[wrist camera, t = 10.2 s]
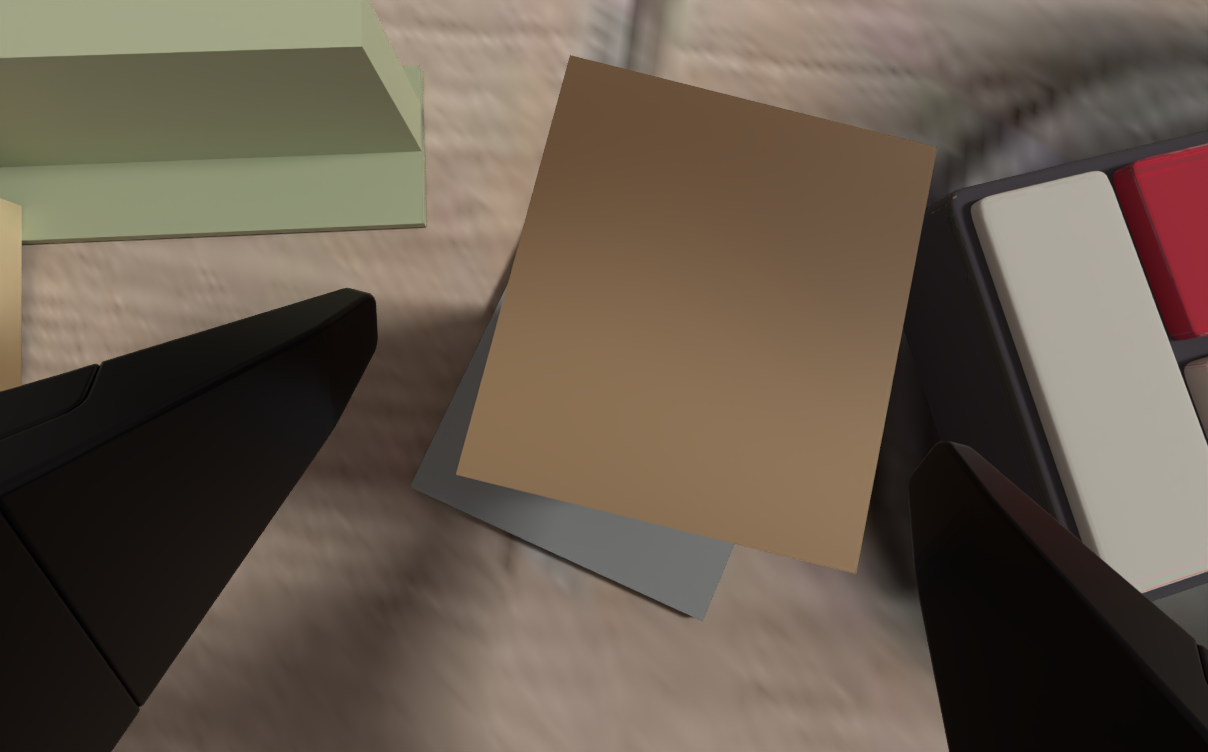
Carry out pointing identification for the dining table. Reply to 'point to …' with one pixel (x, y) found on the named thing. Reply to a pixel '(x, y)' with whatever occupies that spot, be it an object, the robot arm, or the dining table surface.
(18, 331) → the offcut lower
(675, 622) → the dining table surface
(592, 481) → the brown wooden block
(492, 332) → the felt pad
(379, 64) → the green flanged rail
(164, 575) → the robot arm
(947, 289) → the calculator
